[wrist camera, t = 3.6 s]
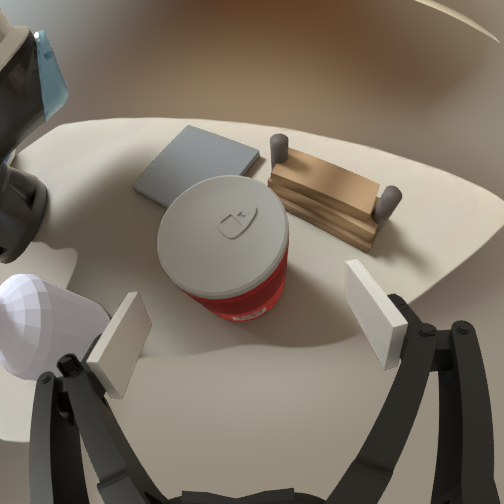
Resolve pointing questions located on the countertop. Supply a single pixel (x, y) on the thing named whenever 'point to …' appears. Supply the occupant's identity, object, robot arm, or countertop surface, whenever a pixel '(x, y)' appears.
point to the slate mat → (193, 164)
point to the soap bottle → (44, 325)
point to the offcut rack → (329, 195)
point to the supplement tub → (10, 158)
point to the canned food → (227, 245)
